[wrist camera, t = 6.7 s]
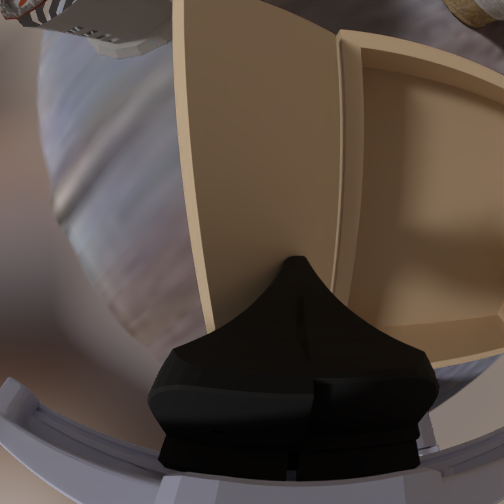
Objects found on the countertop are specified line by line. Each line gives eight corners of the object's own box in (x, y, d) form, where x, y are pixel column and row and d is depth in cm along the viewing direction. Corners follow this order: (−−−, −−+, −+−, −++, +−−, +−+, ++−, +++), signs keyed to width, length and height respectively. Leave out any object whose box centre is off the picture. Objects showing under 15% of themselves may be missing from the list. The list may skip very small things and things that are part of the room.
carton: (497, 316, 19) (518, 348, 15) (316, 330, 22) (319, 378, 17) (541, 116, 10) (580, 126, 6) (325, 53, 13) (340, 29, 8)
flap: (240, 449, 12) (234, 444, 13) (316, 378, 17) (310, 375, 17) (183, -20, 4) (172, -12, 4) (335, 34, 8) (324, 35, 8)
